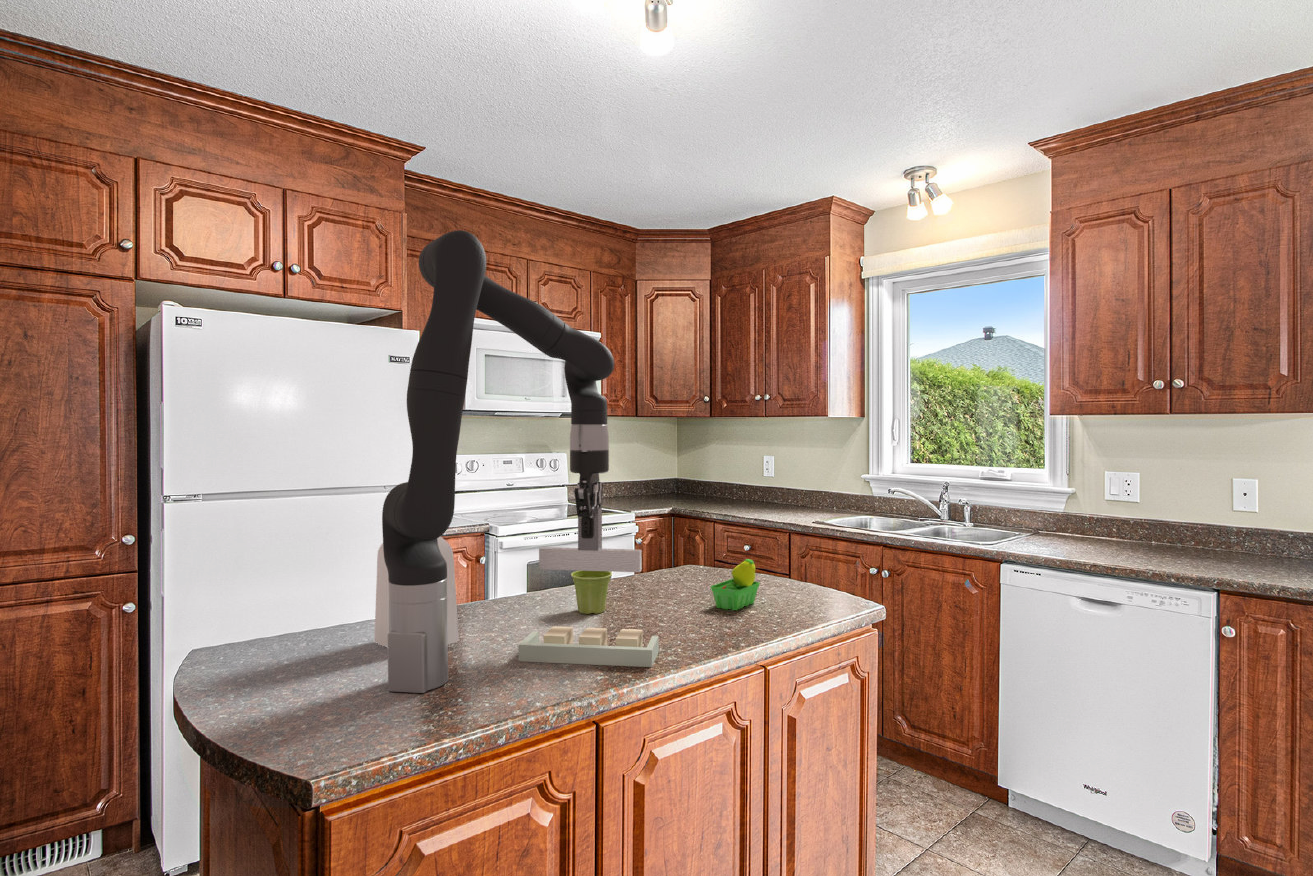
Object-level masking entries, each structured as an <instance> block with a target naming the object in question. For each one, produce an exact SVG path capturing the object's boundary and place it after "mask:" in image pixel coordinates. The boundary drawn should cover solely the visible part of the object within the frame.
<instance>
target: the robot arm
mask: <svg viewBox="0 0 1313 876" xmlns="http://www.w3.org/2000/svg"><path fill="white" fill-rule="evenodd" d="M418 269H419V272H420V273H421V276H422V278H423V279H424V280H425V282H426V283H427V284H428V285H429V286H430V287H432V288H433V293H432V303H431V308H430V312H429V315H428V319H427V321H426V324H425V326H424V329H423V331H422V332H421V335H420V338H419V340H418V342H417V344H416V347H415V350H414V354H413V356H412V360H411V365H410V370H409V374H408V375H409V377H408V382H407V384H408V385H407V391H406V412H407V418H408V423H409V430H410V434H411V435H410V437H411V442H412V445H411V446H412V455H411V456H412V457H411V464H410V470H409V476H408V479H407V481H406V482H402V483H399V484H397V485H395V486H394V487H393V488H392V489H390V491H389V492H388V493H387V494H386V496H385V499H384V502H383V505H382V515H381V516H382V518H381V520H382V521H381V525H382V543H383V550H384V560H385V564H386V567H387V570H388V581H389V633H388V648H387V691H388V692H395V693H396V692H397V693H398V692H399V693H414V694H415V693H416V694H417V693H419V694H424V693H426V692H427V691H430V690H434V689H436V688H440V687H441V686H444V685H445V684H446V683H447V682H448V681H449V650H448V648H449V645H448V619H447V563H446V561H445V559H444V558H443V556H442V554H441V552H440V550H439V547H438V541H437V538H439V537H440V536H441V537H442V536H443V535H444V534H445V533H446V532H447V530H448V529H449V528H450V525H451V523H452V520H453V517H454V513H455V505H456V504H455V500H456V469H457V456H458V455H457V454H458V447H459V446H458V445H459V441H460V434H461V427H462V419H463V417H462V416H463V412H464V411H463V410H464V406H465V400H466V393H467V386H468V385H467V384H468V377H469V365H470V358H471V351H472V344H473V343H472V341H473V332H474V324H475V323H474V322H475V319H476V318H475V317H476V313H477V311H478V312H481V313H482V314H483V315H486V316H487V317H489V318H491V319H492V320H494V321H495V322H497V323H499V324H501V325H502V326H503V327H505V328H507V329H508V330H510V331H511V332H513V333H514V334H515V335H516V336H519V338H521V339H523V340H524V341H525V342H527V343H528V344H530V345H531V346H533V347H534V348H536V349H537V350H539V351H540V352H541V353H543V354H544V355H546V356H547V357H549V358H552V359H559V360H562V361H564V367H563V368H564V369H563V370H564V371H563V372H564V378H565V383H566V388H567V391H568V396H569V399H570V403H571V407H570V415H571V416H570V421H571V422H570V424H571V425H570V434H569V471H570V472H571V473H573V474H579V481H578V482H577V484H576V487H575V488H574V490H573V492H574V499H575V500H574V501H575V506H576V508H575V509H576V515H577V518H578V517H580V519H581V537H582V538H584V539H591V538H592V537H593V517H594V507H602V504H603V494H604V493H603V492H604V483H603V482H601V481H600V474H604V473H608V472H609V470H610V449H609V448H610V447H609V445H610V444H609V443H610V440H609V438H610V436H609V429H608V401H607V399H606V397H605V396H604V395H602V394H600V393H599V391H598V386H597V381H598V382H599V381H602V380H605V379H606V378H609V376H611V375H612V373H613V371H614V369H615V359H614V356H613V353H612V352H611V350H610V349H609V348H608V347H607V346H606V345H604V344H603V342H600V340H597V339H595V337H592V336H590V335H588V334H586V333H584V332H582V331H580V330H579V329H575V328H573V327H571V326H570V325H569V324H567V323H566V322H565V321H563V319H561V318H560V317H558V316H557V315H555V313H554V312H552V311H550V310H549V309H548V308H546V307H545V306H543V305H542V304H539V303H538V302H536V301H534V300H531V299H530V298H527V297H525V296H523V295H521V294H519V293H516V292H514V291H512V290H510V289H508V288H506V287H504V286H503V285H500V284H499V283H497V282H496V281H494V280H492V279H491V278H490V277H489V276H487V275H486V271H487V255H486V251H485V249H484V246H483V244H482V243H481V241H480V240H479V239H478V237H477V236H476V235H474V234H473V233H471V232H469V231H466V230H460V229H459V230H452V231H449V232H446V233H444V234H442V235H440V236H439V237H437V238H435V239H434V240H432V241H430V242H429V243H428V244H426V245H425V246H424V247H423V248H422V250H421V251H420V254H419V257H418ZM584 507H586V508H587V510H584Z"/></svg>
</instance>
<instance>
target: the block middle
mask: <svg viewBox="0 0 1313 876" xmlns="http://www.w3.org/2000/svg"><path fill="white" fill-rule="evenodd" d="M578 645H601V646H608V628H605V627H603V628H602V627H586V628H585V629H584V630H582V633H581V634H580V635H578Z"/></svg>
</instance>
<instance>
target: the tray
mask: <svg viewBox="0 0 1313 876" xmlns="http://www.w3.org/2000/svg"><path fill="white" fill-rule="evenodd" d="M659 638H660V637H659V635H652V636H651V638H650V640H649V642H648V643H647V646H646V647H645V646H643V647H625V646H616V645H607V646H601V645H579V644H574V643H573V644H551V643H544V642H540V631H539V630H538V631H537V630H536V631H535V630H533V631H532V632H531V633H530V634H528V635H527V636H526V637H525V638H524V639H523V640H521V642H520V643H519V644H518V645H517V646H518V647H517V648H518V662H526V663H528V662H529V663H548V664H549V663H551V664H573V665H590V666H591V665H595V666H616V667H617V666H618V667H638V668H639V667H640V668H653V666H654V664H655V662H654V661H656V659H657V657H658V654H659V651H660V650H659V646H660V645H659V644H660V641H659V640H660V639H659Z"/></svg>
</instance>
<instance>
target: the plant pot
mask: <svg viewBox="0 0 1313 876" xmlns="http://www.w3.org/2000/svg"><path fill="white" fill-rule="evenodd" d="M570 576H571V577H572V580H573V583H574V589H575V597H576V604H577V611H578V612H579V613H580V614H585V615H591V614H597V615H598V613H599V614H601V613H603V612H605V611H606V604H607V596H608V595H607V594H608V589H609V583H610V580H611V577H612V576H613V572H612V571H582V570H574V571H572V572H571V573H570Z"/></svg>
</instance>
